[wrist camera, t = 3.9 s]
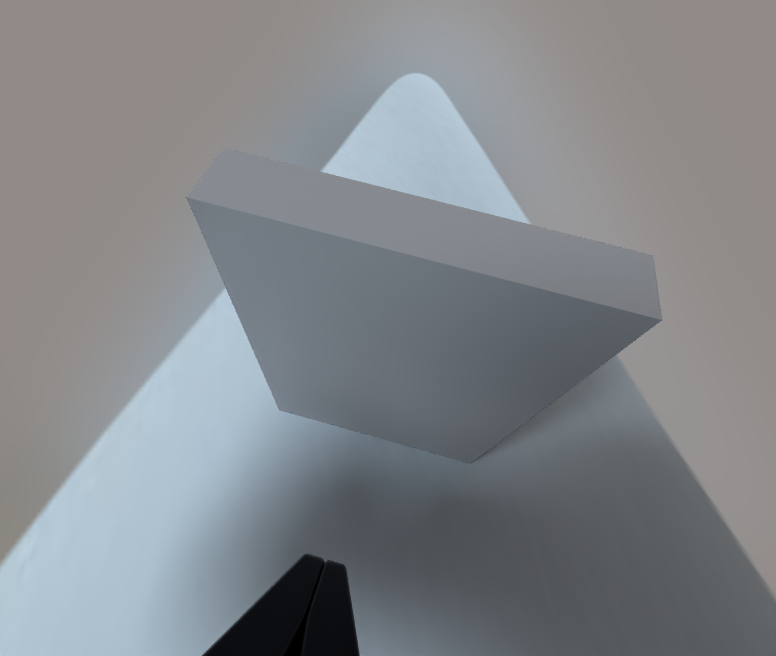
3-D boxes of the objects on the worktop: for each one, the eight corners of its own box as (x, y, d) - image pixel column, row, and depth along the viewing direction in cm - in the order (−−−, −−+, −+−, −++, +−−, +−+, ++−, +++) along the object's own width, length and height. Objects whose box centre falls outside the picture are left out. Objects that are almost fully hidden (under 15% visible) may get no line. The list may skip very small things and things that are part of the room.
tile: (470, 463, 16) (662, 319, 6) (279, 409, 16) (186, 196, 7) (475, 426, 16) (652, 249, 7) (293, 376, 17) (227, 143, 7)
